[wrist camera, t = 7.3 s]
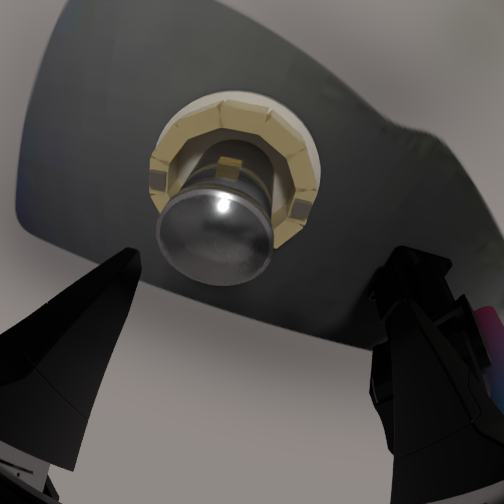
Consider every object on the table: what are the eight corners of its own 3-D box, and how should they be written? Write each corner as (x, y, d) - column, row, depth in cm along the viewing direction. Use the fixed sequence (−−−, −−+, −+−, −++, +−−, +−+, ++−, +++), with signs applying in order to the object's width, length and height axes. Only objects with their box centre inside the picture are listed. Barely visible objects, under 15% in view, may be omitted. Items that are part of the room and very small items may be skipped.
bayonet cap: (266, 223, 21) (257, 300, 15) (190, 208, 20) (157, 278, 15) (288, 139, 16) (290, 196, 11) (199, 122, 16) (156, 170, 11)
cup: (447, 334, 29) (473, 443, 18) (479, 298, 25) (520, 416, 14) (477, 336, 30) (504, 432, 18) (508, 304, 25) (545, 405, 14)
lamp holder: (339, 113, 16) (351, 128, 13) (293, 246, 23) (294, 279, 20) (166, 79, 16) (142, 88, 13) (158, 218, 23) (141, 246, 20)
